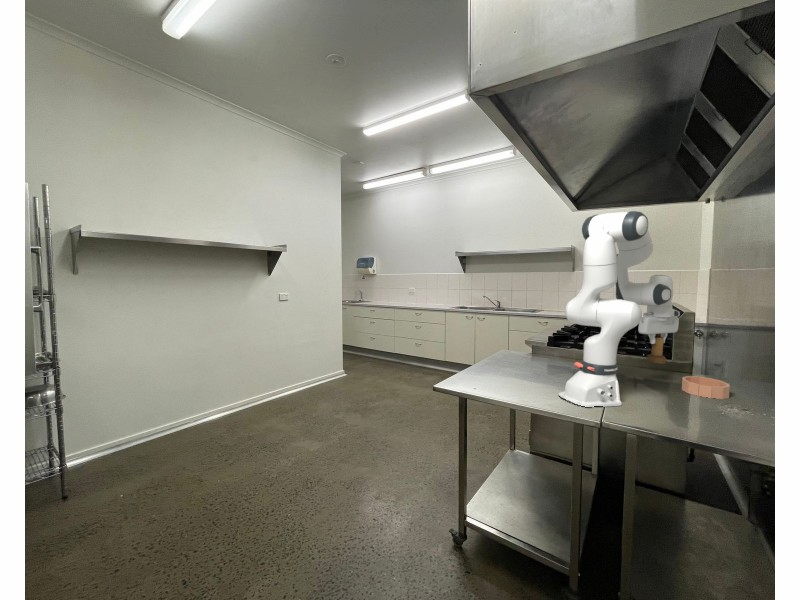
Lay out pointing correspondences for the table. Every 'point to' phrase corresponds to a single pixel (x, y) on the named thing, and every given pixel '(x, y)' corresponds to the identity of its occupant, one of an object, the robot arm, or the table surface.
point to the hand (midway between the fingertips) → (657, 343)
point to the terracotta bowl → (705, 387)
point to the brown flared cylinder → (657, 351)
